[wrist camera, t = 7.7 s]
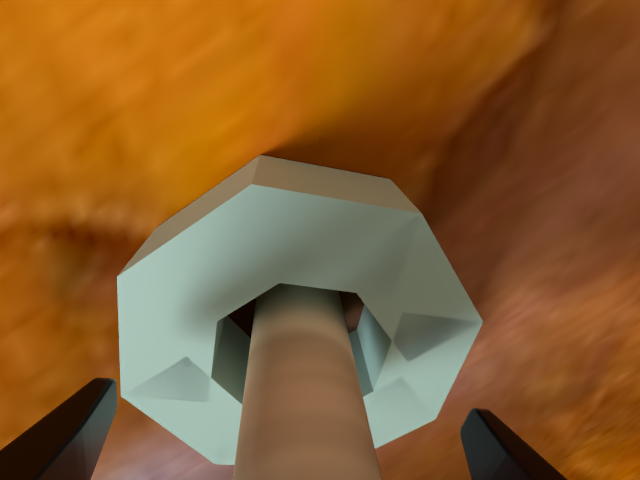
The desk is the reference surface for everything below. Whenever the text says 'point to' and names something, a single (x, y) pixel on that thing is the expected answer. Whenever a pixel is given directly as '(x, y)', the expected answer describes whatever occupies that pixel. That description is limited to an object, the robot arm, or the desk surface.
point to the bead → (297, 269)
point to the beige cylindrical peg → (302, 393)
